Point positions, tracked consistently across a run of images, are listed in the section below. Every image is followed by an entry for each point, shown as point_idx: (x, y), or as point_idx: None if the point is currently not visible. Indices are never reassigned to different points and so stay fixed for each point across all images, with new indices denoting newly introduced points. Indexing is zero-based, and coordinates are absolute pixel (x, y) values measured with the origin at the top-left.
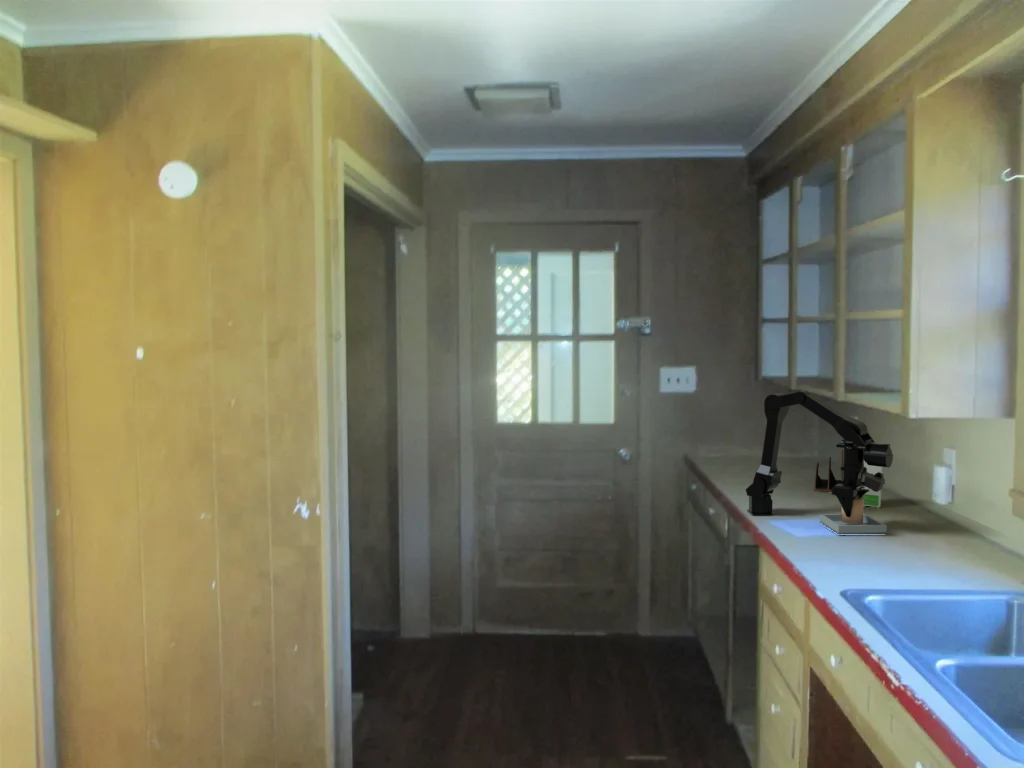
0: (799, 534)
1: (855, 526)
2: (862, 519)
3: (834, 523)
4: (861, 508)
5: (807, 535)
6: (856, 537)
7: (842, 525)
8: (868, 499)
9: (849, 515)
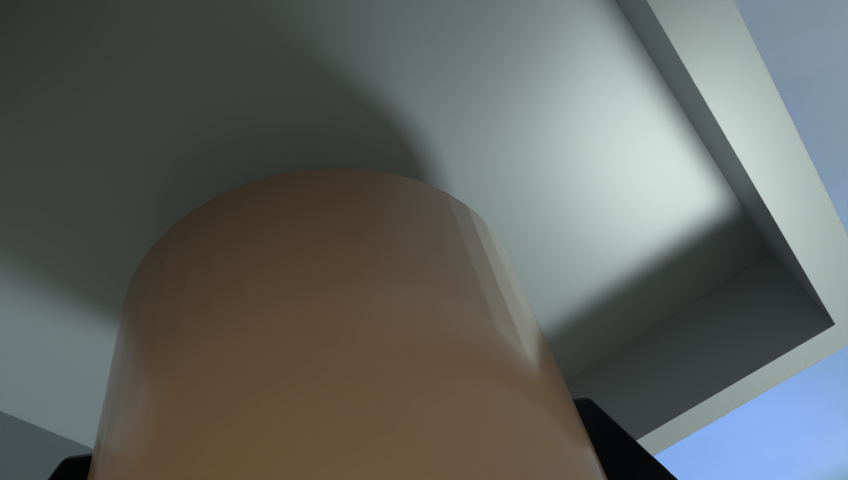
0: (823, 452)
1: (802, 147)
2: (333, 220)
3: (743, 403)
4: (469, 473)
5: (842, 408)
6: (783, 17)
7: (844, 300)
8: None
9: (604, 426)
